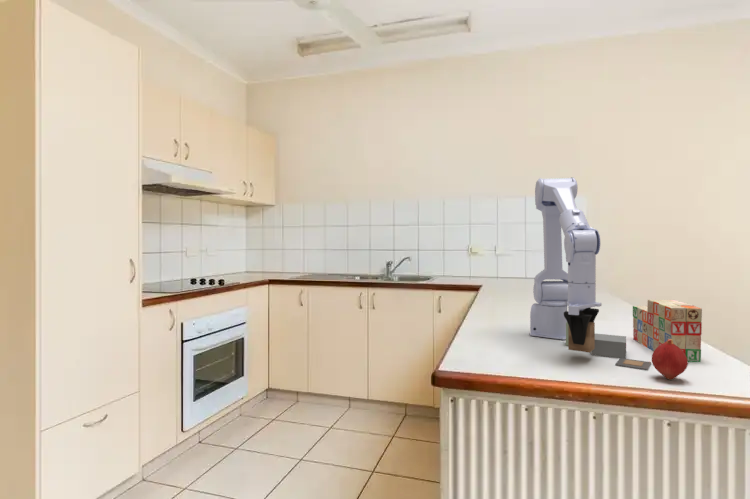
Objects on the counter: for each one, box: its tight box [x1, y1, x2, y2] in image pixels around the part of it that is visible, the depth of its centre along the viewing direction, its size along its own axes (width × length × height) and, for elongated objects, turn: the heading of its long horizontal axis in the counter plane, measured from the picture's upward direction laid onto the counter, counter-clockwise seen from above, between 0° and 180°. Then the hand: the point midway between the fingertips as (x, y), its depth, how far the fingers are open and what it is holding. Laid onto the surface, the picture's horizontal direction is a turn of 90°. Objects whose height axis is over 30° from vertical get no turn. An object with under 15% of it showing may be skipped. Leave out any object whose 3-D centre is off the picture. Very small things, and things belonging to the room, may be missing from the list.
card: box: [614, 358, 652, 371], centre depth 95 cm, size 6×6×1 cm
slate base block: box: [591, 333, 627, 359], centre depth 104 cm, size 7×7×4 cm
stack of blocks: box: [632, 299, 703, 363], centre depth 106 cm, size 21×6×12 cm, turn 169°
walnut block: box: [567, 321, 596, 354], centre depth 99 cm, size 4×4×6 cm
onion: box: [651, 339, 689, 380], centre depth 85 cm, size 6×6×8 cm
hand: (581, 341), depth 99 cm, fingers closed on walnut block, 4 cm apart
